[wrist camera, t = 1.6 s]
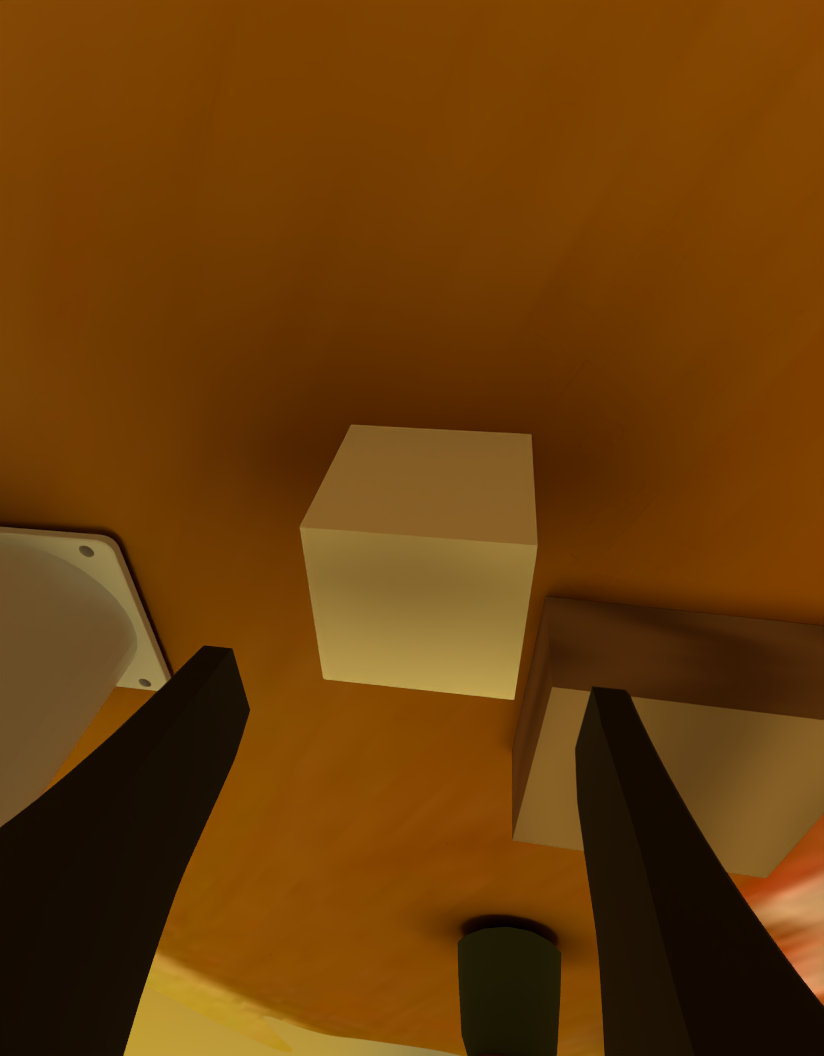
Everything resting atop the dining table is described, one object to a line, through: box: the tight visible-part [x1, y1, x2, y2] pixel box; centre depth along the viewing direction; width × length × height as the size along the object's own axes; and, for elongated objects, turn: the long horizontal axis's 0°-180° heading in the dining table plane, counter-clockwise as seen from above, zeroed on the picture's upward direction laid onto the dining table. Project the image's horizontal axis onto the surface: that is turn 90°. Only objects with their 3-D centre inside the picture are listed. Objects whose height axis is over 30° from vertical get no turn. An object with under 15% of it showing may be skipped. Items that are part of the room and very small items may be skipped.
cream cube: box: [300, 425, 538, 700], centre depth 15 cm, size 5×5×5 cm
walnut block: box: [512, 596, 824, 878], centre depth 20 cm, size 9×9×4 cm
